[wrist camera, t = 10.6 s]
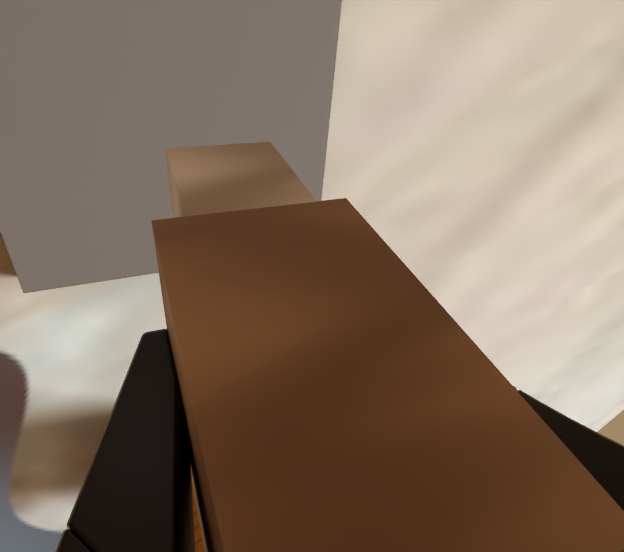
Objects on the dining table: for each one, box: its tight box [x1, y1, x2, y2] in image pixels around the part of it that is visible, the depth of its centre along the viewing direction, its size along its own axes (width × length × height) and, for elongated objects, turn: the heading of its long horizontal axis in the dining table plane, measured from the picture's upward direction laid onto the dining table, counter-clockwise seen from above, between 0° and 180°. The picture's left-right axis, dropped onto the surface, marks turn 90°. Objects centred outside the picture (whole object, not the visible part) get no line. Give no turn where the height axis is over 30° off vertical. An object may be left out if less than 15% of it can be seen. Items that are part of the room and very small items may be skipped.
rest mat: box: [0, 0, 342, 293], centre depth 16 cm, size 12×12×1 cm
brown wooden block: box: [151, 142, 624, 552], centre depth 7 cm, size 3×5×8 cm, turn 176°
